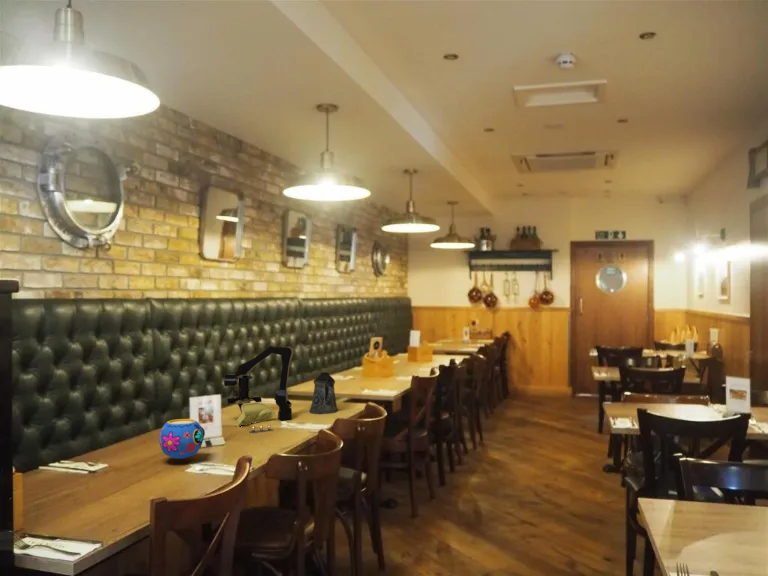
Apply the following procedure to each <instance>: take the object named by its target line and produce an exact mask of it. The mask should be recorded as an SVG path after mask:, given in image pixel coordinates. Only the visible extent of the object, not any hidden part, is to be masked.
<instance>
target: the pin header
mask: <svg viewBox="0 0 768 576" xmlns="http://www.w3.org/2000/svg"><path fill="white" fill-rule="evenodd" d="M248 431H249V433H248V434H250V433H252V434H258V433H259V432H260V433H265V432H273V431H274V429H271V424H268V425H267V429H264V426H263V425H259V430H256V426H255V425H252V426H251V430H248Z"/></svg>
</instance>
